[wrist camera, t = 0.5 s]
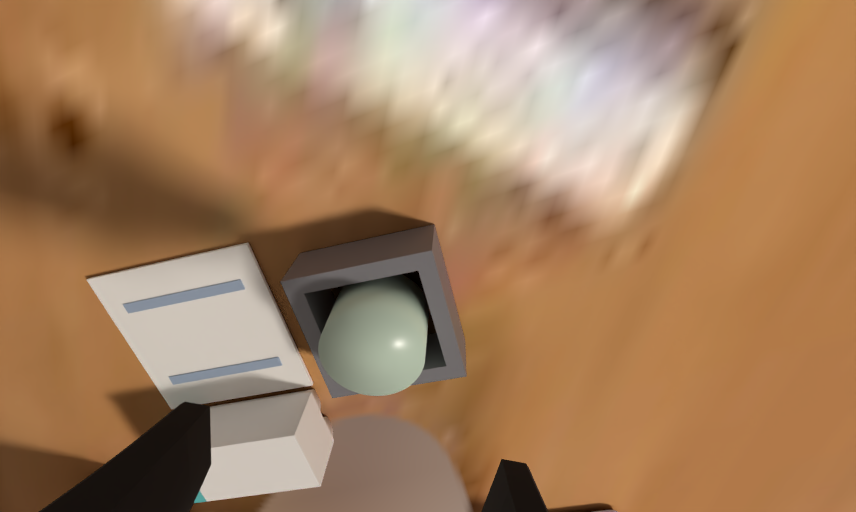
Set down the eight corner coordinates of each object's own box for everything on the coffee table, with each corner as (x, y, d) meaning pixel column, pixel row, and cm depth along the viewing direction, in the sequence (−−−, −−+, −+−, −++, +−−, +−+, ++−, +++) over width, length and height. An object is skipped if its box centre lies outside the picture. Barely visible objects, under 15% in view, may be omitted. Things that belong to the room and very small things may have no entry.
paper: (313, 383, 23) (312, 386, 23) (172, 407, 24) (170, 410, 24) (248, 242, 20) (246, 244, 19) (89, 278, 21) (85, 280, 21)
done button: (438, 339, 20) (436, 387, 18) (353, 354, 21) (338, 402, 18) (415, 260, 19) (409, 300, 16) (323, 279, 19) (302, 320, 16)
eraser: (315, 382, 23) (294, 435, 20) (337, 430, 25) (320, 486, 22) (175, 405, 24) (136, 459, 21) (204, 450, 26) (171, 506, 23)
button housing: (465, 339, 21) (466, 376, 19) (344, 361, 22) (332, 398, 20) (434, 224, 19) (431, 250, 17) (300, 253, 20) (280, 281, 18)
